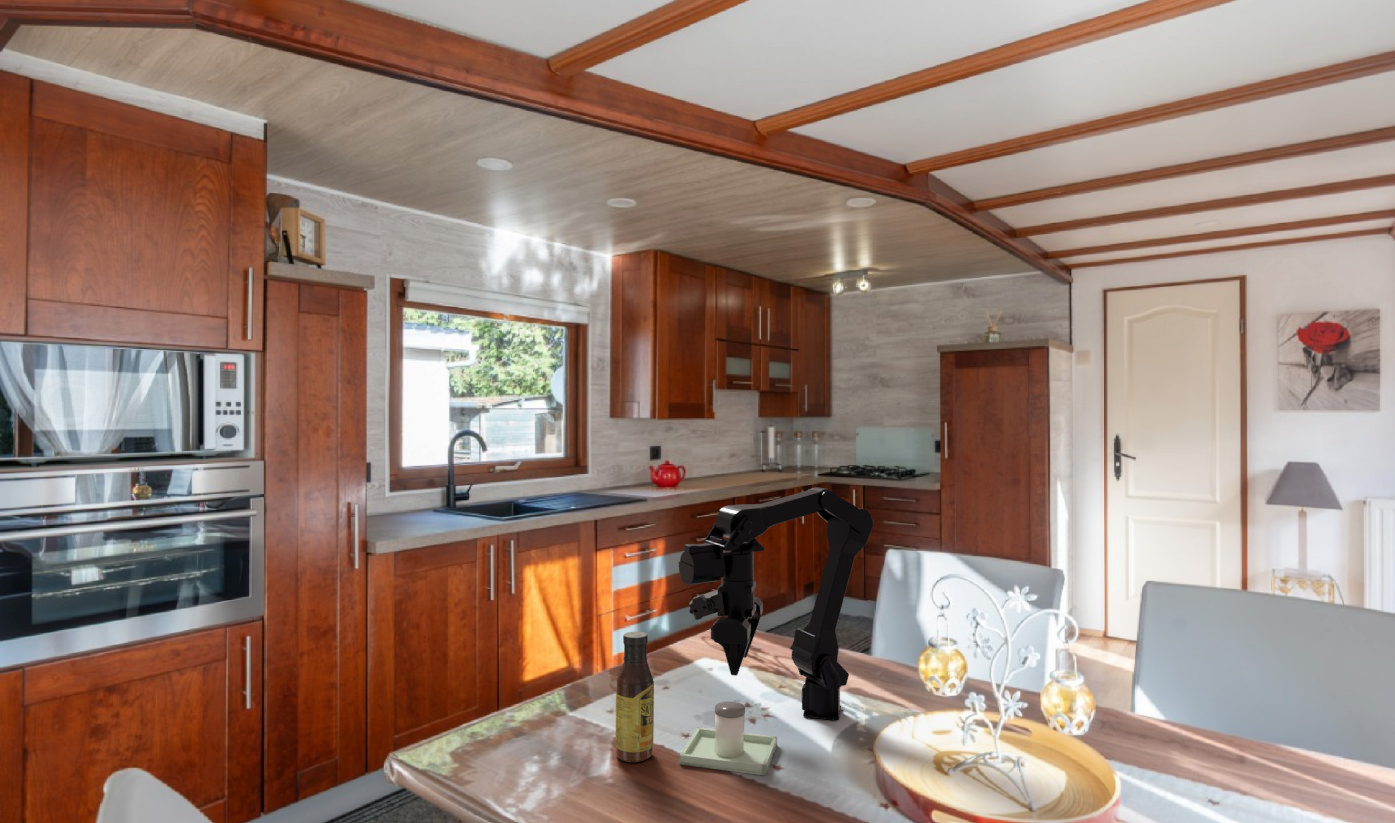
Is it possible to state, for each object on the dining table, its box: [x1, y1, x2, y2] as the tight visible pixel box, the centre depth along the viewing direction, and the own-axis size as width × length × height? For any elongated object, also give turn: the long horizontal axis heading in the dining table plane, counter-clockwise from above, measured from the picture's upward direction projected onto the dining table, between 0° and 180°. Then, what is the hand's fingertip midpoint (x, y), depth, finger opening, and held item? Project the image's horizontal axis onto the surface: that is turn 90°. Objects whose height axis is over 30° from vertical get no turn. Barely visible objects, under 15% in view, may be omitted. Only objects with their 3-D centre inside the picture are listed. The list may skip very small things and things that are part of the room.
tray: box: [679, 726, 778, 777], centre depth 125 cm, size 14×11×2 cm
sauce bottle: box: [615, 631, 655, 763], centre depth 125 cm, size 6×6×20 cm
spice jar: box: [714, 700, 746, 758], centre depth 125 cm, size 5×5×7 cm
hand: (739, 665), depth 134 cm, fingers open, 9 cm apart
